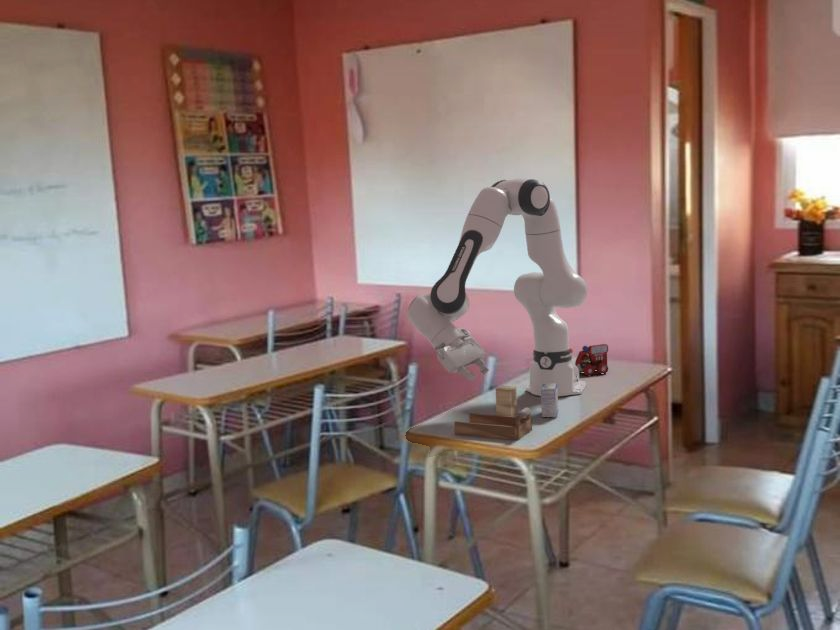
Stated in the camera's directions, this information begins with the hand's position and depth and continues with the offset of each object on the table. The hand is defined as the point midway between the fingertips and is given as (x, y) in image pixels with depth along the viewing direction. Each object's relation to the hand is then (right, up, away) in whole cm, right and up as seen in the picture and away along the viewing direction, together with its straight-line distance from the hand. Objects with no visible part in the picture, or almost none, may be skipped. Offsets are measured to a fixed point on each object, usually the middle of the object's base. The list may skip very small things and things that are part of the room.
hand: (480, 375), depth 267 cm
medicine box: (+21, -12, +3) cm, 24 cm away
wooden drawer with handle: (+3, -15, -13) cm, 20 cm away
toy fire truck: (+43, -3, +56) cm, 71 cm away
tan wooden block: (+8, -13, -2) cm, 15 cm away
